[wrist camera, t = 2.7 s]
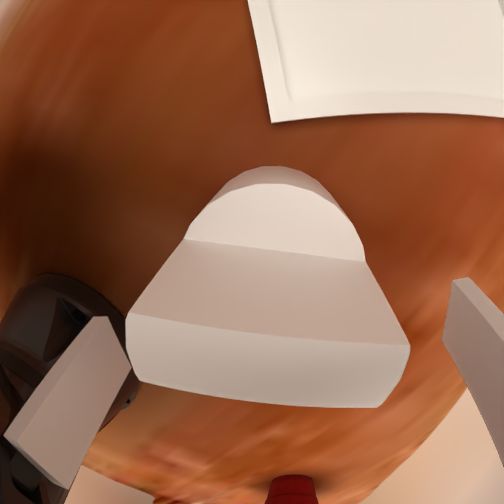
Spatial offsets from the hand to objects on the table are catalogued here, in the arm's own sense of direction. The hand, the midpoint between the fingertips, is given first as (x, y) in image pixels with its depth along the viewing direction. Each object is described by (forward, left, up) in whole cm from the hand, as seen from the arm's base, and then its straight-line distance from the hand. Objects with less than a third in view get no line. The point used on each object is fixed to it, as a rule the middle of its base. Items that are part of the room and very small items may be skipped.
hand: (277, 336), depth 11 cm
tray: (+11, +17, -10) cm, 23 cm away
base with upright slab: (0, 0, -10) cm, 10 cm away
